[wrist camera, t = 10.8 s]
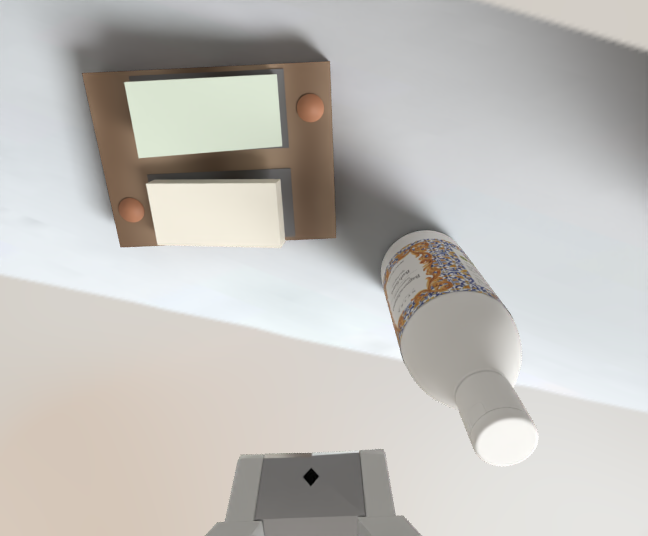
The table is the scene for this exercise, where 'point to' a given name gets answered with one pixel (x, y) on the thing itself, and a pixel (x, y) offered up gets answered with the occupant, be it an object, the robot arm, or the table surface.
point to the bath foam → (459, 342)
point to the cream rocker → (217, 212)
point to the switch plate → (261, 163)
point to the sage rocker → (204, 114)
